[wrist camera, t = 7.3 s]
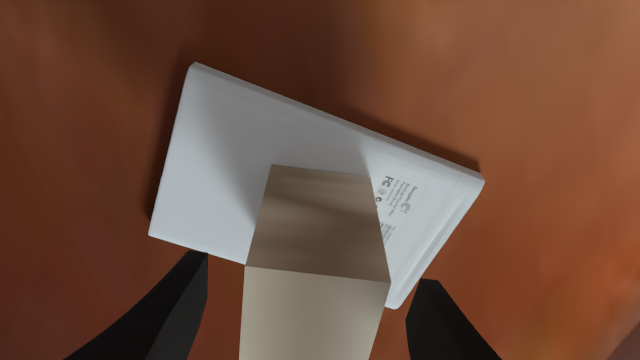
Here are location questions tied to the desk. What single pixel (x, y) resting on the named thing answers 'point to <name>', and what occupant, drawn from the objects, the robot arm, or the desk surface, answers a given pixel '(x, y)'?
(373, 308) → the birch block
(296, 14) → the desk surface
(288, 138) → the external hard drive
